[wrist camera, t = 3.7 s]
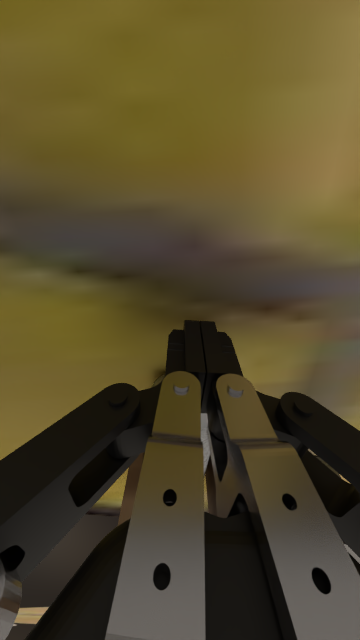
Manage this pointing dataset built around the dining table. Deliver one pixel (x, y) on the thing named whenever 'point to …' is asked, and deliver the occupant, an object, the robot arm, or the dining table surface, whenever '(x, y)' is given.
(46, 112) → the dining table surface
